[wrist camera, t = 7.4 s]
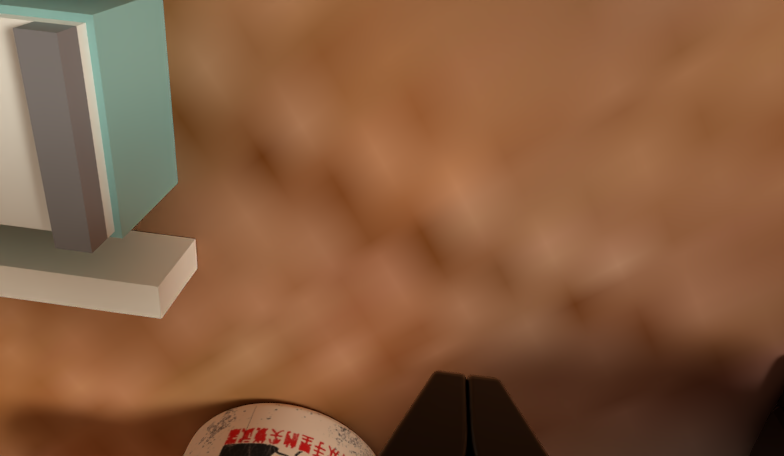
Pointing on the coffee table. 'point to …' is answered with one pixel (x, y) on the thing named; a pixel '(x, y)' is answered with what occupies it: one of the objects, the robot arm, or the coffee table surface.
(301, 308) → the coffee table surface
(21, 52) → the cabinet
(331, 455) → the white printed mug
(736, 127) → the coffee table surface
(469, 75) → the coffee table surface
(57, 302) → the cream flat base plank
